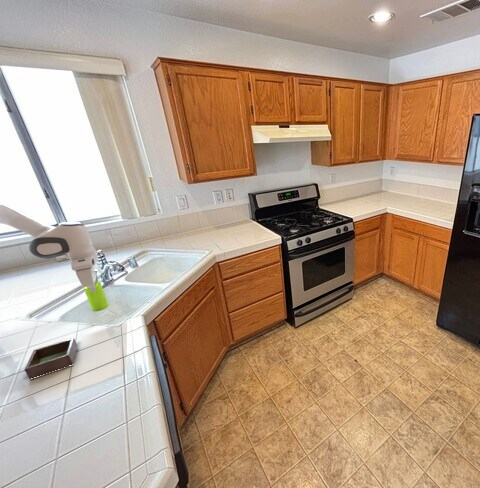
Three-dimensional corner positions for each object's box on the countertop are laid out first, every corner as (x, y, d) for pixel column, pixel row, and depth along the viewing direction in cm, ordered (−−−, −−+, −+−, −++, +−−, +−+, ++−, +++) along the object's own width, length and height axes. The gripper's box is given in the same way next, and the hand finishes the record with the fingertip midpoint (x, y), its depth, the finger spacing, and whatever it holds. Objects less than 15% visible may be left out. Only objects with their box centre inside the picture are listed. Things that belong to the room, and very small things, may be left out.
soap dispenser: (113, 309, 122) (100, 270, 115) (94, 315, 117) (79, 276, 110) (110, 304, 126) (97, 266, 119) (92, 310, 121) (77, 272, 114)
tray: (30, 380, 85) (24, 369, 83) (38, 360, 93) (33, 349, 91) (73, 365, 90) (68, 355, 89) (78, 347, 99) (74, 337, 97)
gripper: (78, 252, 119) (88, 279, 124) (70, 268, 103) (82, 299, 108) (96, 249, 122) (105, 276, 127) (91, 264, 106) (102, 294, 111)
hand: (95, 286), depth 117 cm, fingers open, 8 cm apart
